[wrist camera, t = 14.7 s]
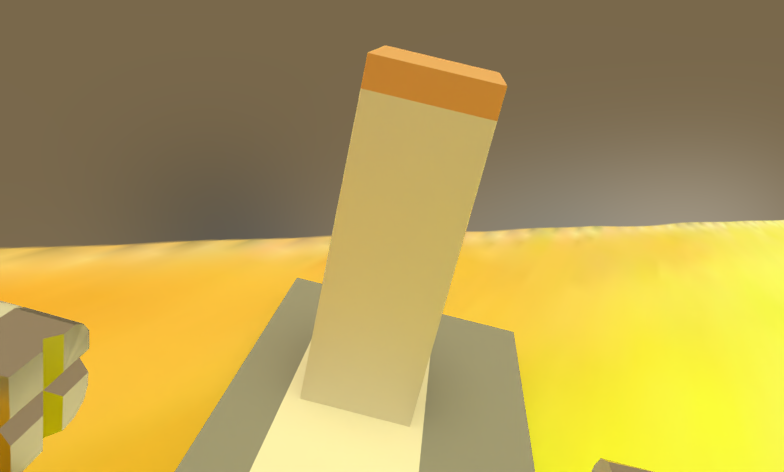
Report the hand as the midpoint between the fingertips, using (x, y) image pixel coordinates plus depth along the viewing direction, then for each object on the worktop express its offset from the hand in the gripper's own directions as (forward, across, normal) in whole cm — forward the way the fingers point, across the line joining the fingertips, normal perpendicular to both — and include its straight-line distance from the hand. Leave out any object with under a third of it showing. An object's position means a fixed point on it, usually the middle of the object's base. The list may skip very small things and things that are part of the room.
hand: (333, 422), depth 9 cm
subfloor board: (+11, -1, +8) cm, 14 cm away
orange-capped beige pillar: (+12, 0, +7) cm, 14 cm away
